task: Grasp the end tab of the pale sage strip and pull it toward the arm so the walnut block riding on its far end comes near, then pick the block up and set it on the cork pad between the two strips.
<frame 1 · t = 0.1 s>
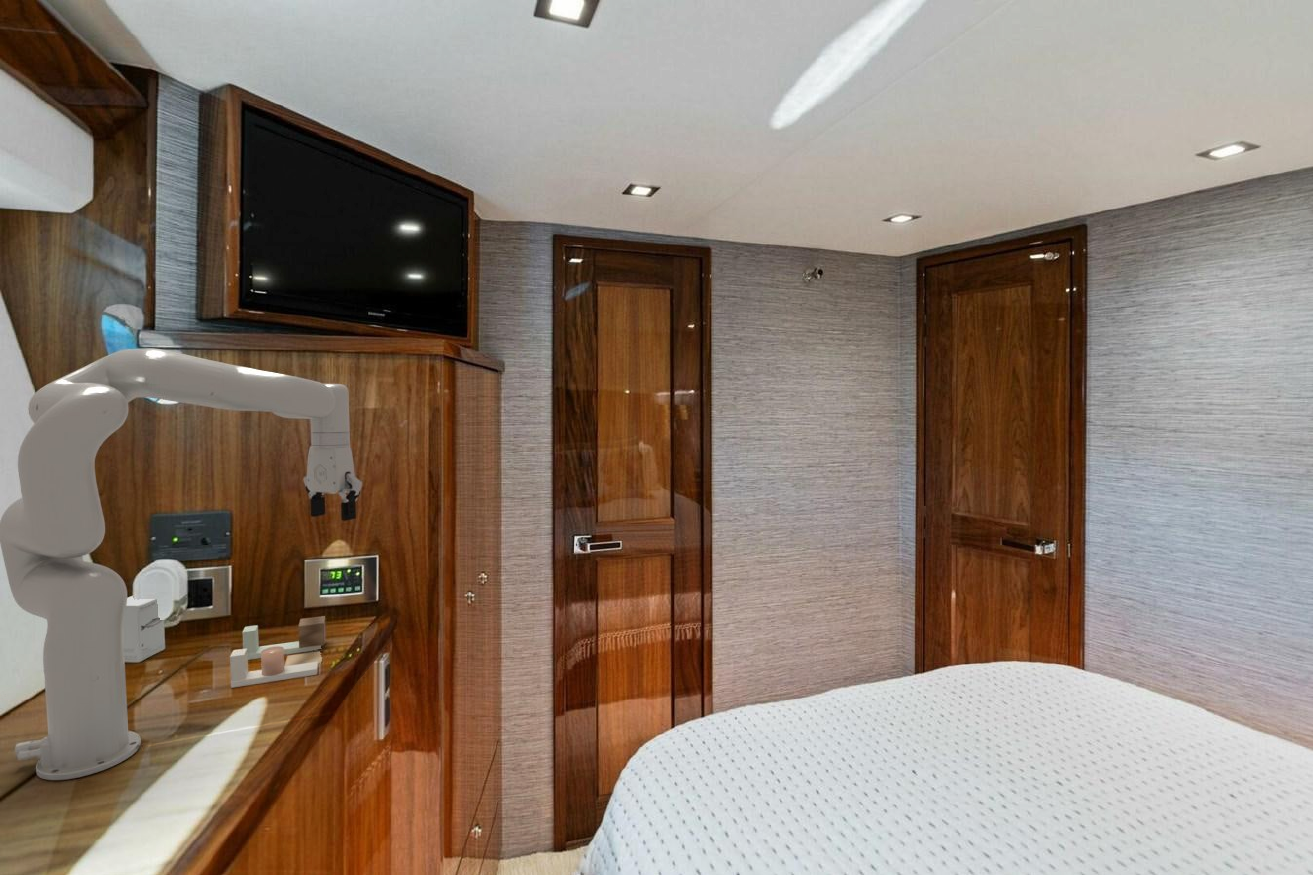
hand: (333, 517, 141), 31 cm above the cabinet, tool pointing down, fingers open, 9 cm apart
pink cylinder: (273, 671, 131), point 2 cm above the cabinet, touching strip b
strip a: (283, 637, 143), point 4 cm above the cabinet, slide at 0.0 cm, touching block
supplement box: (137, 656, 142), on the cabinet
strip b: (275, 662, 131), point 4 cm above the cabinet, slide at 0.0 cm, touching pink cylinder
block: (312, 642, 146), point 2 cm above the cabinet, touching strip a
pad: (304, 660, 139), resting on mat
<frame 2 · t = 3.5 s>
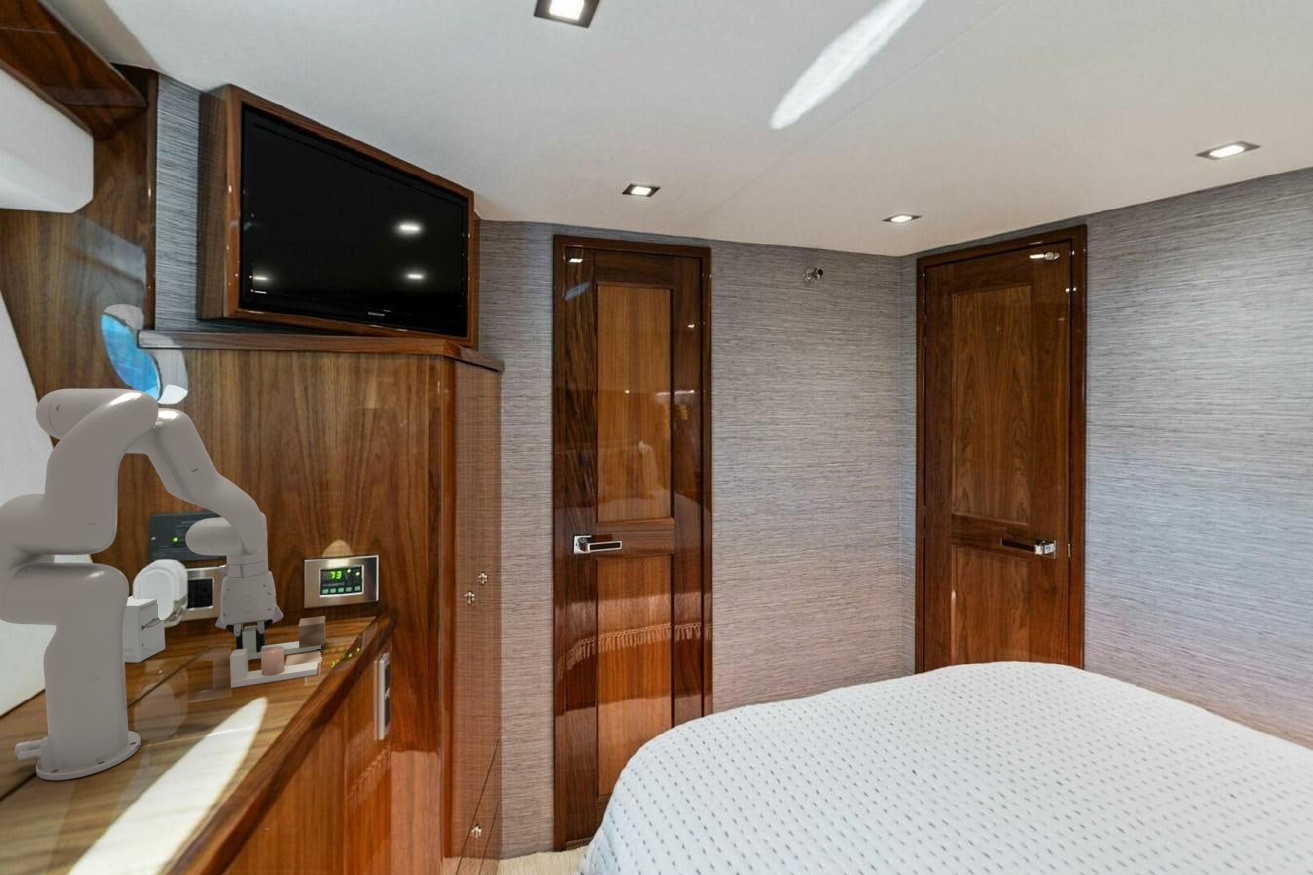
hand: (251, 649, 141), 2 cm above the cabinet, tool pointing down, fingers closed on strip a, 2 cm apart
strip a: (283, 637, 143), point 4 cm above the cabinet, slide at 0.0 cm, touching block, gripper
everything else where it was.
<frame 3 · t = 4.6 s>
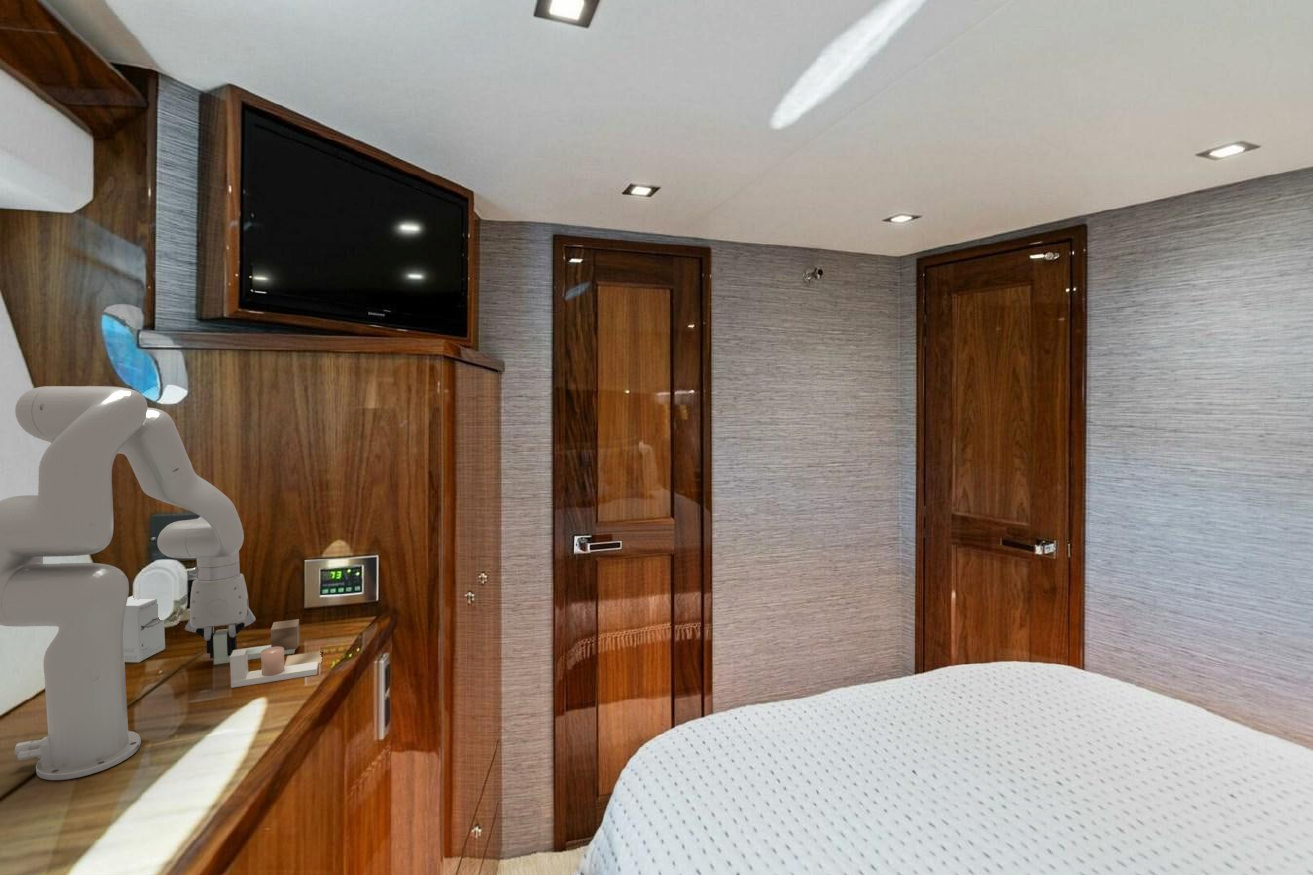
hand: (222, 653, 139), 2 cm above the cabinet, tool pointing down, fingers closed on strip a, 2 cm apart
strip a: (255, 641, 141), point 4 cm above the cabinet, slide at 5.3 cm, touching block, gripper
block: (285, 645, 144), point 2 cm above the cabinet, touching strip a
everything else where it was.
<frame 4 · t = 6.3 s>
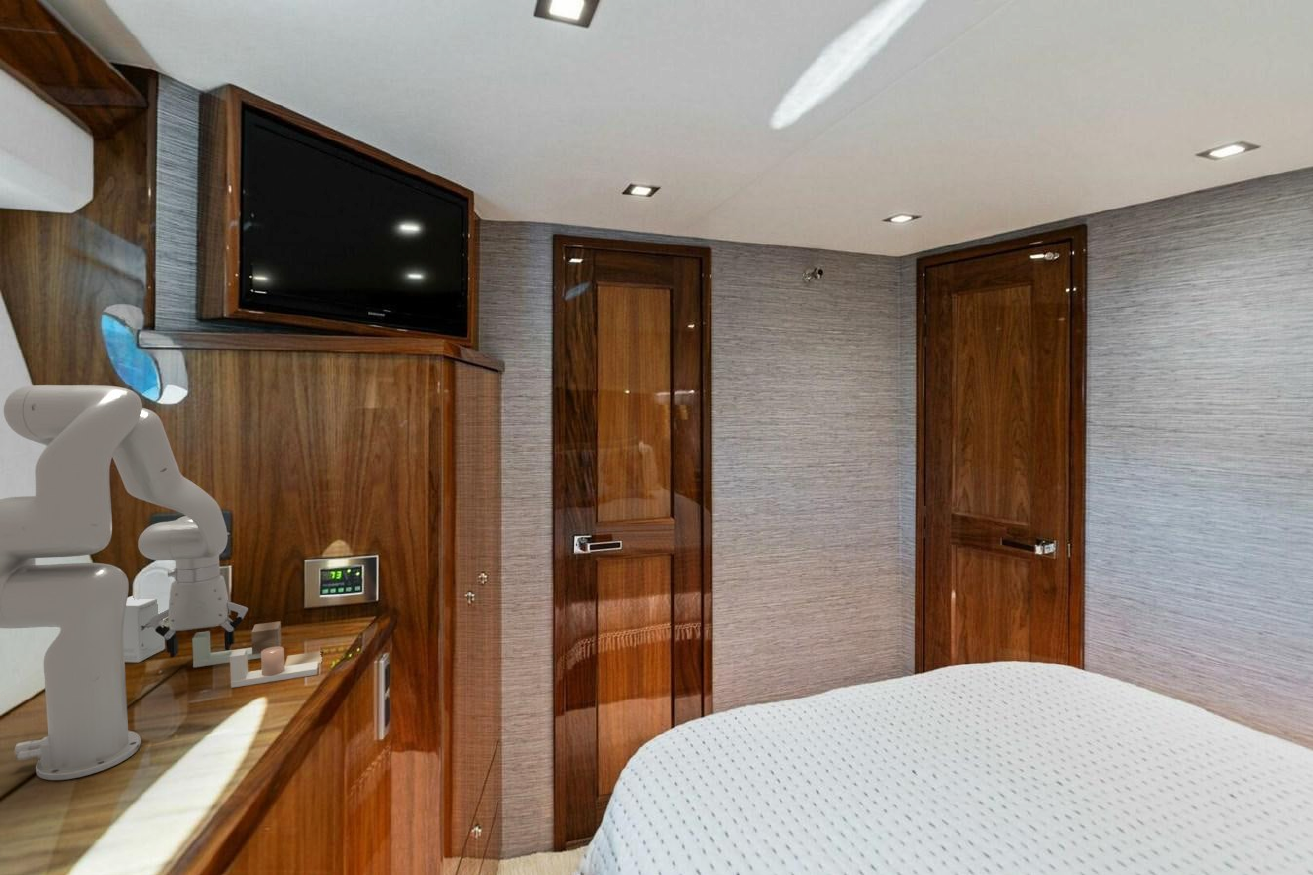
hand: (201, 651, 137), 3 cm above the cabinet, tool pointing down, fingers open, 9 cm apart
strip a: (236, 644, 140), point 4 cm above the cabinet, slide at 9.0 cm, touching block
block: (267, 648, 142), point 2 cm above the cabinet, touching strip a
everything else where it was.
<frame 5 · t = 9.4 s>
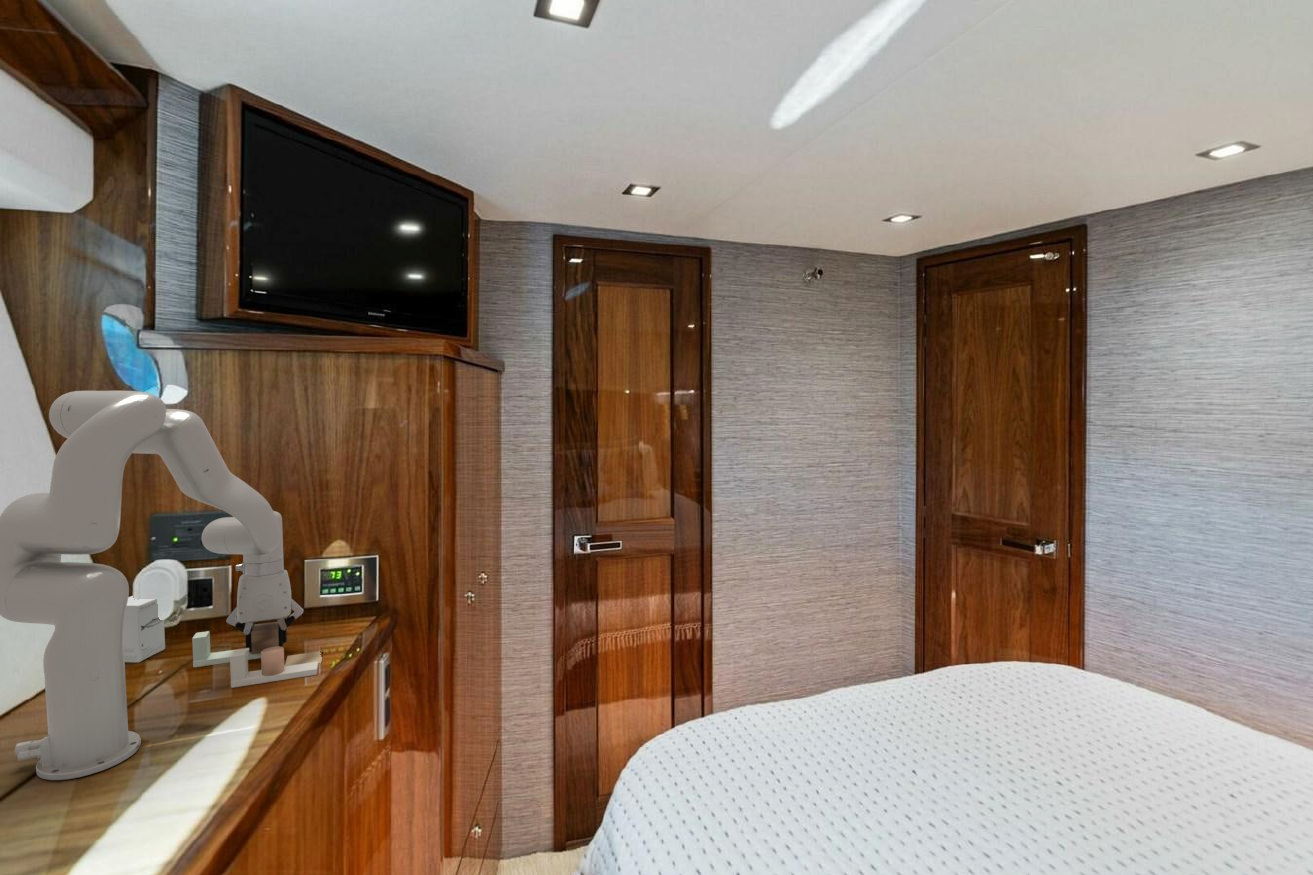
hand: (266, 647, 142), 2 cm above the cabinet, tool pointing down, fingers closed on block, 5 cm apart
block: (266, 648, 142), point 2 cm above the cabinet, touching gripper, strip a
everything else where it was.
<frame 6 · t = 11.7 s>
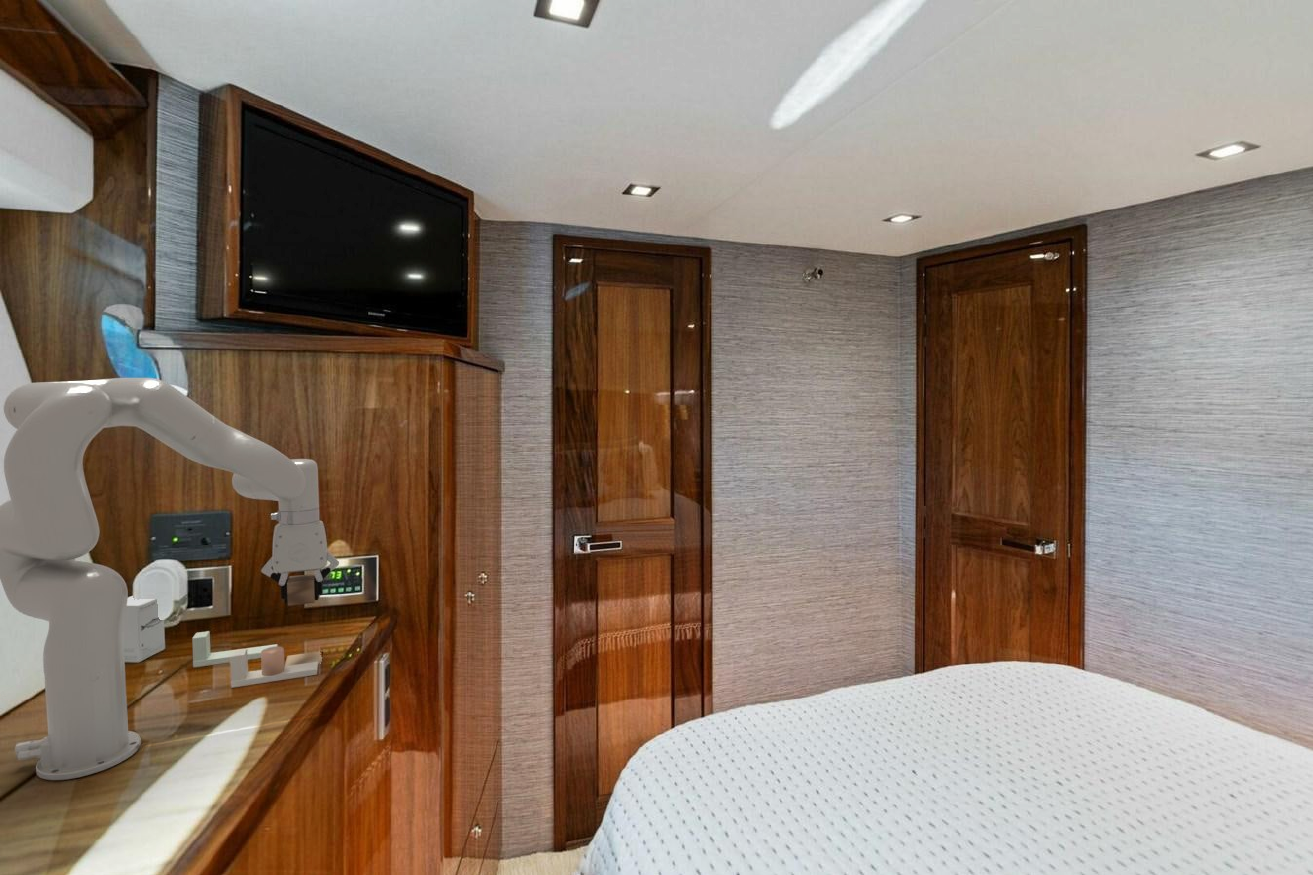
hand: (302, 599, 138), 14 cm above the cabinet, tool pointing down, fingers closed on block, 5 cm apart
strip a: (236, 644, 140), point 4 cm above the cabinet, slide at 9.0 cm
block: (302, 600, 138), point 14 cm above the cabinet, touching gripper
everything else where it was.
when the fingers open (2 cm above the cabinet, at t = 13.8 s): block stays where it is, resting on pad.
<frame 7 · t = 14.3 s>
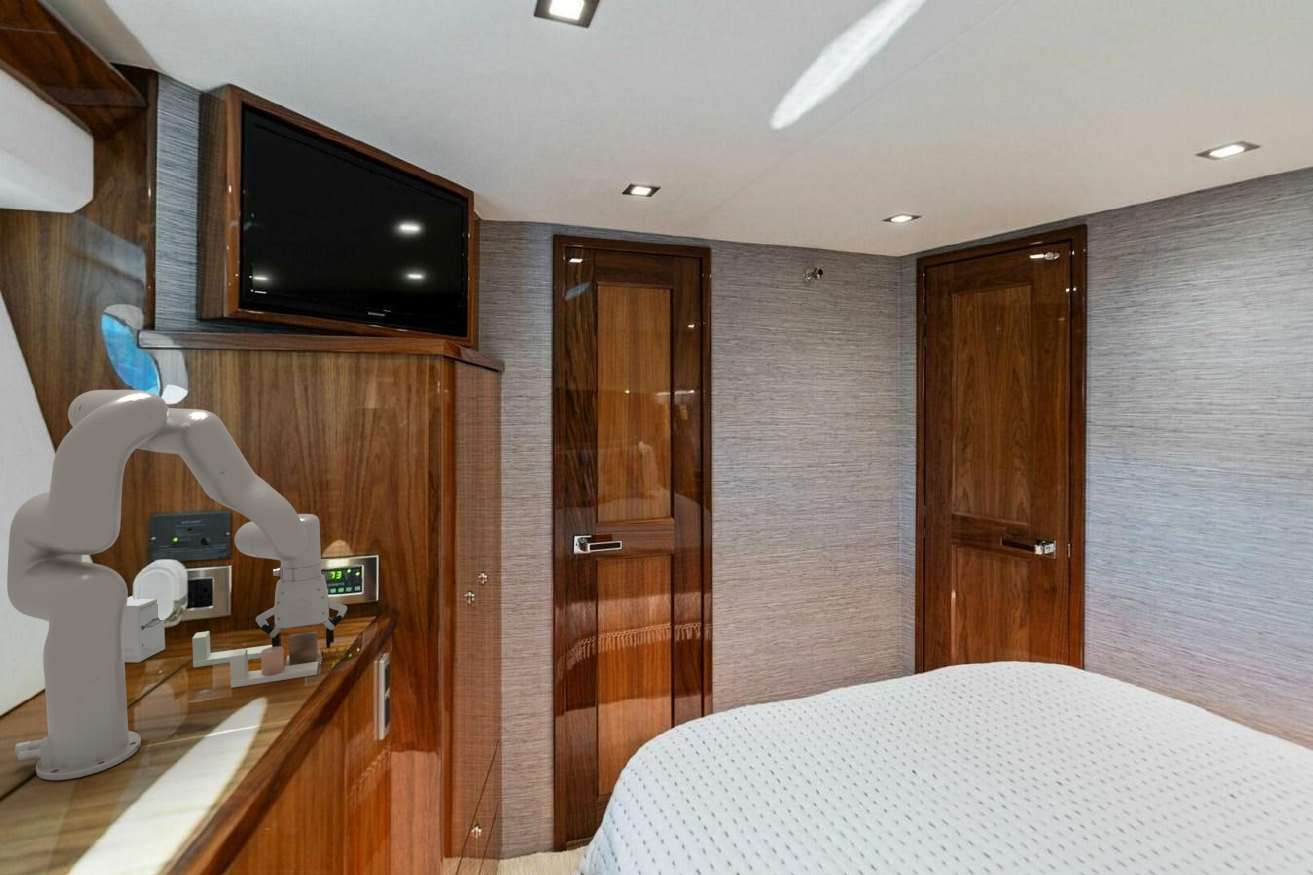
hand: (303, 649, 139), 3 cm above the cabinet, tool pointing down, fingers open, 9 cm apart
block: (303, 659, 139), point 1 cm above the cabinet, touching pad
everything else where it was.
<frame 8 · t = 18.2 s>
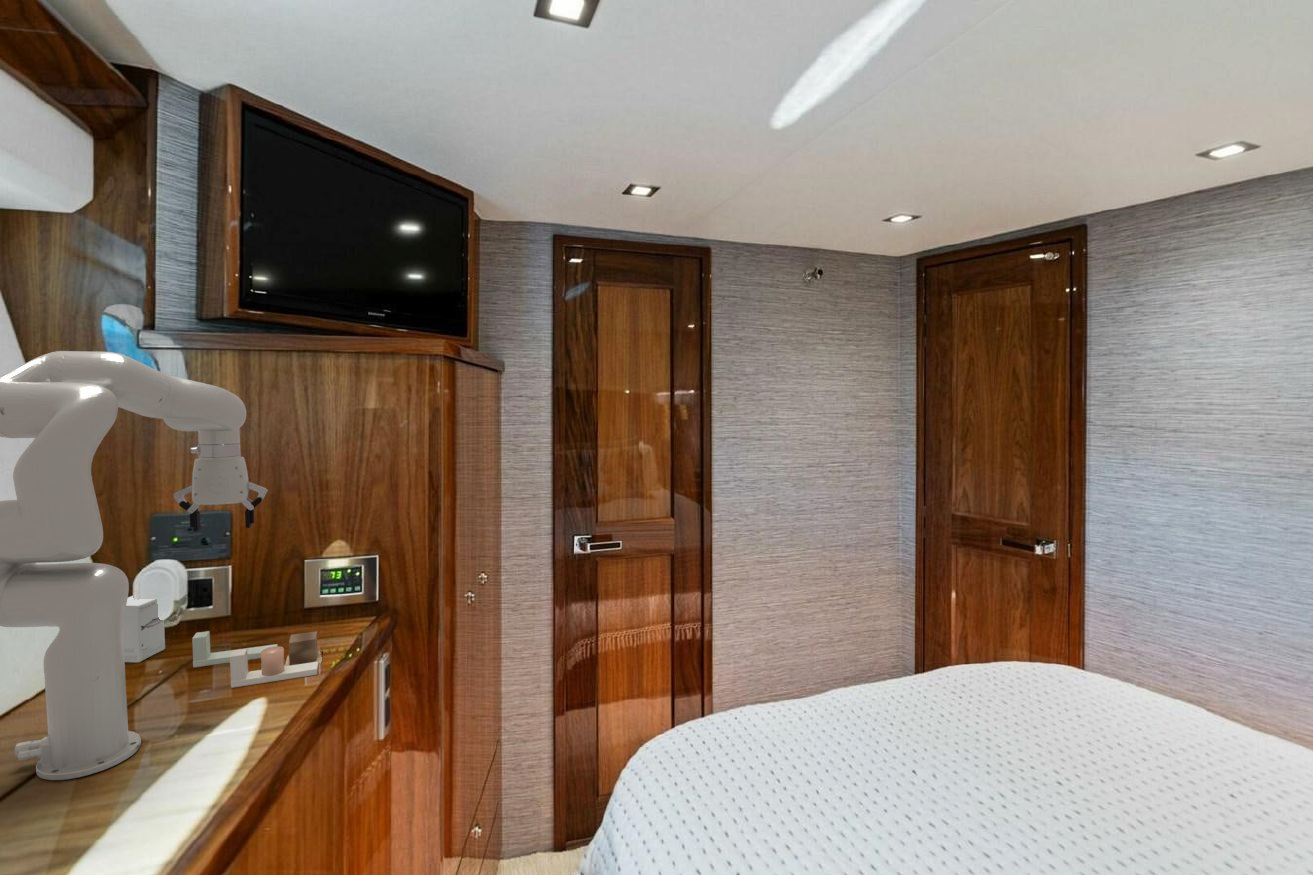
hand: (223, 528, 142), 28 cm above the cabinet, tool pointing down, fingers open, 9 cm apart
nothing on the cabinet moved.
at the end: strip a slide at 9.0 cm; block inside the target area on the pad (0.1 cm from its centre), point 0.3 cm above the pad's base; the gripper is holding nothing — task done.
